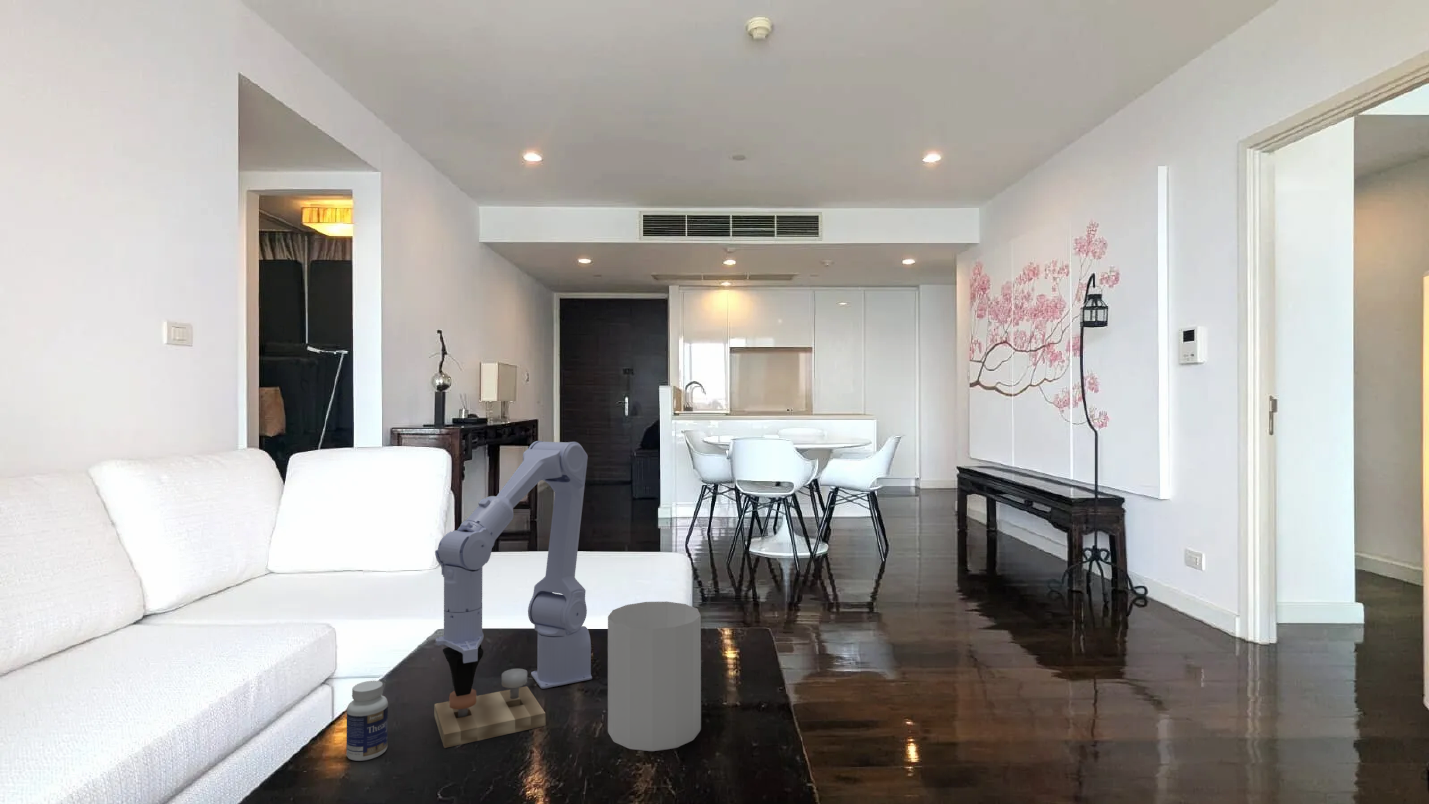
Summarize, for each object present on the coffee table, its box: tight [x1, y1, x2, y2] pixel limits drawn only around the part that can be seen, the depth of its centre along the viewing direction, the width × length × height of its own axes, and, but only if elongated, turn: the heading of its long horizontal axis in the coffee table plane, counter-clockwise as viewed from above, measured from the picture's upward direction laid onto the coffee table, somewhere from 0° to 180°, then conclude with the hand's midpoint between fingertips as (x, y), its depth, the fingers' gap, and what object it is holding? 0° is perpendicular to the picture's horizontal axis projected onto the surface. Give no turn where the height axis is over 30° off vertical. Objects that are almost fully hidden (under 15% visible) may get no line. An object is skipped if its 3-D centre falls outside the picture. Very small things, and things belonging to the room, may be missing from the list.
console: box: [433, 685, 546, 749], centre depth 110 cm, size 15×12×2 cm
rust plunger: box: [448, 688, 477, 718], centre depth 108 cm, size 4×4×4 cm
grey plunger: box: [501, 668, 528, 699], centre depth 112 cm, size 4×4×4 cm
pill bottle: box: [345, 680, 389, 762], centre depth 100 cm, size 5×5×10 cm
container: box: [607, 601, 702, 752], centre depth 108 cm, size 14×14×18 cm
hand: (462, 693), depth 108 cm, fingers closed, pressing on rust plunger
